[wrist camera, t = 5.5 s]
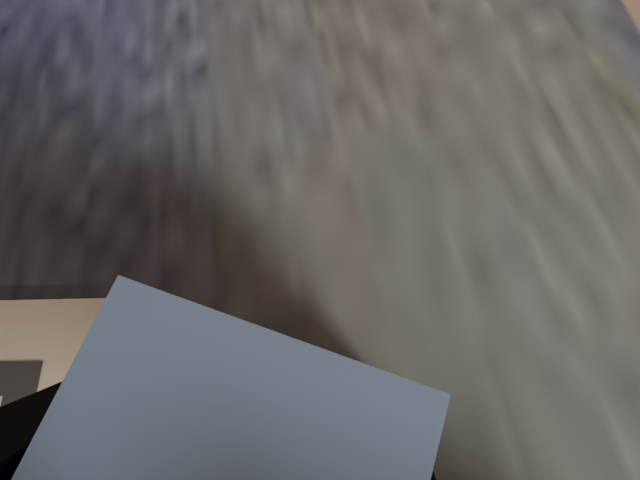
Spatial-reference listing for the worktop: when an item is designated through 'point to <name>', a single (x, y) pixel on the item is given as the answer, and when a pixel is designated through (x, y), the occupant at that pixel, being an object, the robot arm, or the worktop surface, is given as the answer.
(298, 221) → the worktop surface
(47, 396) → the robot arm
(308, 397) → the blue block
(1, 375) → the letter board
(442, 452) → the worktop surface
